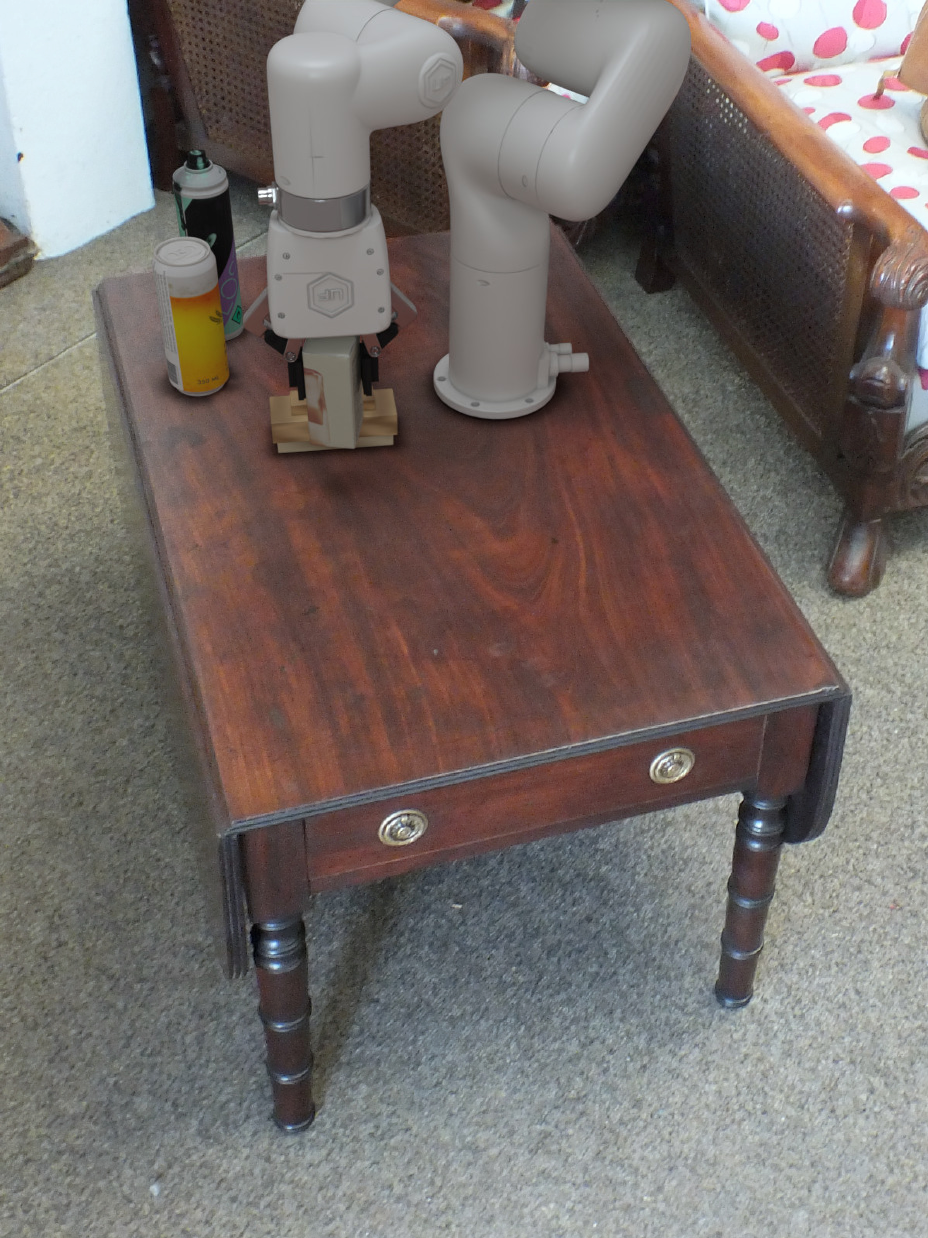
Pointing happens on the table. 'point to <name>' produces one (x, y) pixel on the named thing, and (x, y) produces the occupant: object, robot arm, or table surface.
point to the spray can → (211, 227)
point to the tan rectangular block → (294, 428)
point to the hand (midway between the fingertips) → (334, 387)
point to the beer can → (190, 315)
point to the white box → (333, 390)
